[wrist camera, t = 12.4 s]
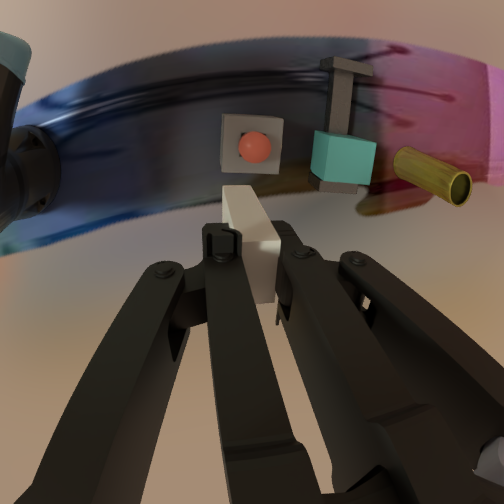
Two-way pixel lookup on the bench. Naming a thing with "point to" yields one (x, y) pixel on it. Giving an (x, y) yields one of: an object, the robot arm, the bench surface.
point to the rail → (339, 110)
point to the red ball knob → (254, 147)
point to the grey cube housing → (236, 128)
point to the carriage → (342, 158)
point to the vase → (433, 175)
